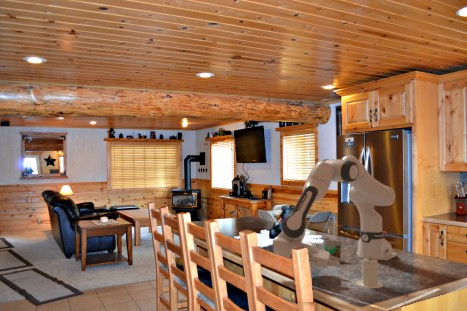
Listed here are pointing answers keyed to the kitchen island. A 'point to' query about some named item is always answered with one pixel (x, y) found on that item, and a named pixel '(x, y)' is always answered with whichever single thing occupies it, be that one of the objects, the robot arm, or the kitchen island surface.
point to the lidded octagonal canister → (370, 271)
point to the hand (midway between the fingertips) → (339, 262)
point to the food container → (333, 247)
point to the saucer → (368, 286)
